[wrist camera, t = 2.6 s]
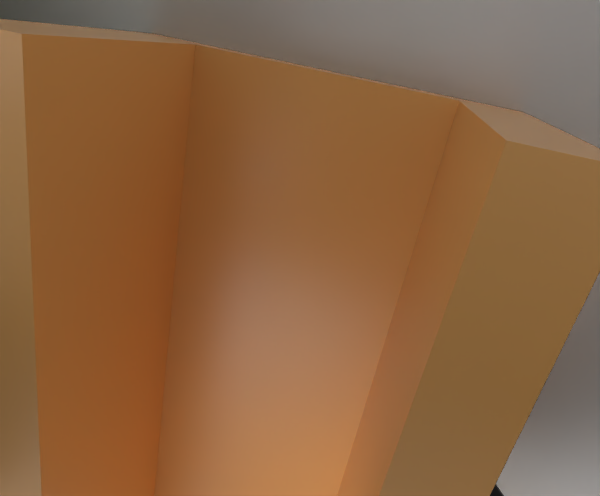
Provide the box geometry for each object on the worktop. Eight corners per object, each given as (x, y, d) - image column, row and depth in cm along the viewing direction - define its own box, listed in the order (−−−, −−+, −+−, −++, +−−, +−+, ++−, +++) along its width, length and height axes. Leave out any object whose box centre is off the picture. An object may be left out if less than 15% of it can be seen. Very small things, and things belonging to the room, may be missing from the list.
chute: (346, 589, 12) (316, 848, 8) (129, 515, 13) (3, 719, 9) (519, 110, 7) (648, 170, 3) (159, 34, 8) (-82, 10, 4)
